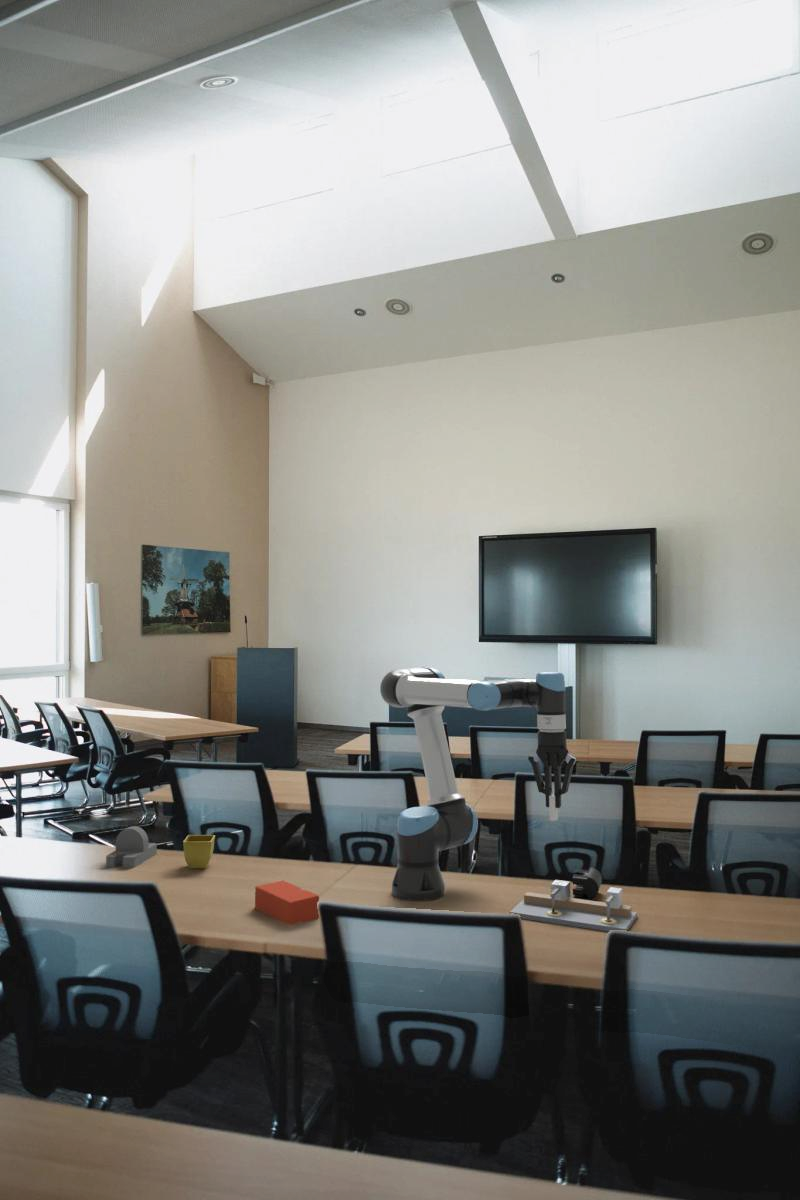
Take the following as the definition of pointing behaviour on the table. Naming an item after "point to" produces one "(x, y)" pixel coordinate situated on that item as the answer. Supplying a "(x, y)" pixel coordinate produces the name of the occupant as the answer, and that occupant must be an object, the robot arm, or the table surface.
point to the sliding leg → (559, 891)
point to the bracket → (131, 848)
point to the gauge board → (578, 911)
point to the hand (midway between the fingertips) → (553, 819)
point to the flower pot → (198, 850)
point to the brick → (286, 902)
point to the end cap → (586, 884)
